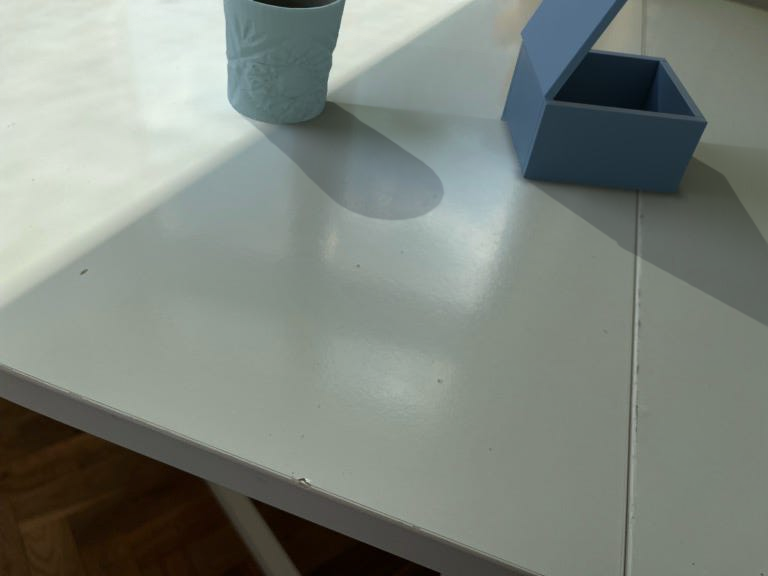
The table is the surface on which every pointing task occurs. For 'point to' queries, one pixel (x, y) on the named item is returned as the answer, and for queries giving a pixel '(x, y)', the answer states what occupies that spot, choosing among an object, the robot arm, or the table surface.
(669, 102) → the cool box
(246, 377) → the table surface
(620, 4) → the lid
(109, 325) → the table surface
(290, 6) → the embossed flower pot
